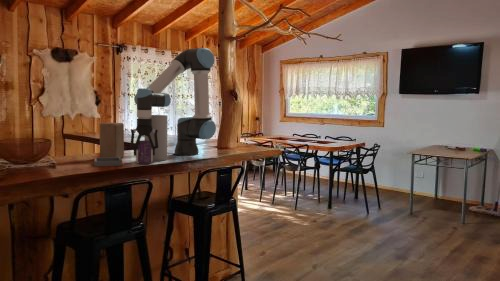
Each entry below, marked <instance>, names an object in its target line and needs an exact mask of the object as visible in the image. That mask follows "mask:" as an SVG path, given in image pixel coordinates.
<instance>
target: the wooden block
mask: <svg viewBox="0 0 500 281" xmlns="http://www.w3.org/2000/svg"><path fill="white" fill-rule="evenodd" d="M124 128H125V125H124V123H122V122H101V123H99V158H111V157H120V158H121V159H122V158H124V157H125V143H124V142H125V138H124V137H125V129H124Z"/></svg>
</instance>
